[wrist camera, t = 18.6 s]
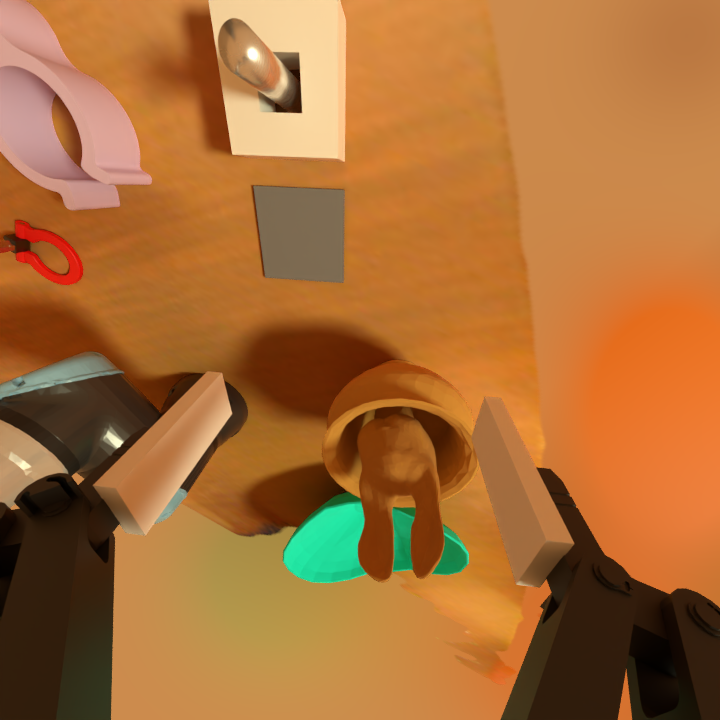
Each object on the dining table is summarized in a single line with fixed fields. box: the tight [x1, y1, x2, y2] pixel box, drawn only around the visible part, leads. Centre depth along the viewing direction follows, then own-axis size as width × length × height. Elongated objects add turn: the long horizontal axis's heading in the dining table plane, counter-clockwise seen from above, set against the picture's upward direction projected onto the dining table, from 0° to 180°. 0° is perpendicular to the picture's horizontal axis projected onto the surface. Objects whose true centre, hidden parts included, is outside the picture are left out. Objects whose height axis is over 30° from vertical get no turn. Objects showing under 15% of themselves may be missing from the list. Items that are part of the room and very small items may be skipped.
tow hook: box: [0, 220, 83, 285], centre depth 41 cm, size 8×13×9 cm
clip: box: [0, 0, 152, 210], centre depth 33 cm, size 20×12×7 cm, turn 25°
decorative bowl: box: [322, 360, 480, 583], centre depth 40 cm, size 21×21×30 cm
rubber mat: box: [253, 186, 344, 283], centre depth 41 cm, size 12×12×1 cm
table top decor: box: [283, 492, 469, 583], centre depth 66 cm, size 40×28×13 cm
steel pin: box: [218, 18, 302, 113], centre depth 27 cm, size 3×3×14 cm
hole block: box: [208, 0, 346, 162], centre depth 31 cm, size 12×12×5 cm
